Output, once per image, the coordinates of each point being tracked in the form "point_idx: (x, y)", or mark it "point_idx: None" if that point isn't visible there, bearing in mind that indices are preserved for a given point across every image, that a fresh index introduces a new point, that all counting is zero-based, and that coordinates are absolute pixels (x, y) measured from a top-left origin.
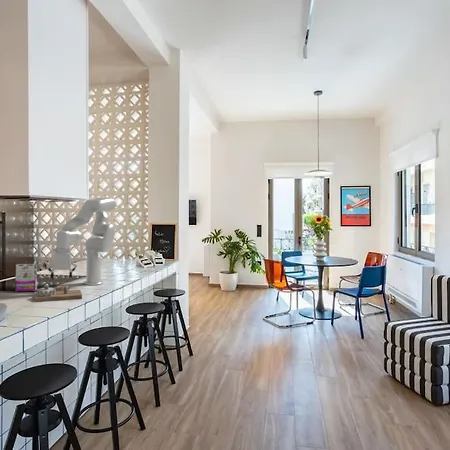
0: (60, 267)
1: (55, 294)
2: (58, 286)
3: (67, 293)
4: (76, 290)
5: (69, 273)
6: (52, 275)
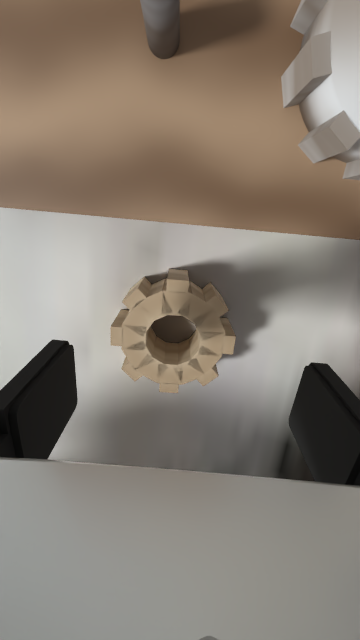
0: (277, 566)
1: (288, 11)
2: (204, 372)
3: (139, 19)
4: (33, 183)
5: (38, 445)
6: (355, 400)
